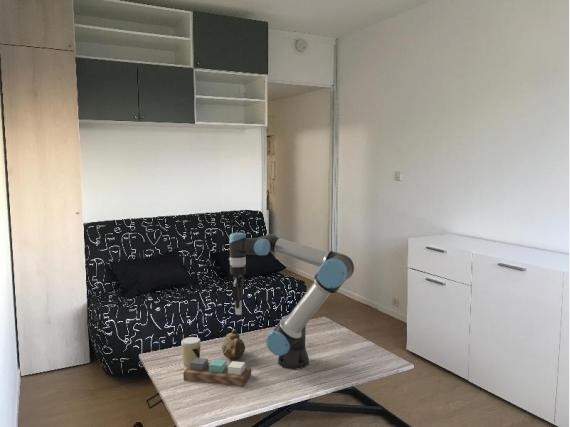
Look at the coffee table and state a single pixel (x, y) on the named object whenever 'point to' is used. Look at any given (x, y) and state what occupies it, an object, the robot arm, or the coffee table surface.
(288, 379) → the coffee table surface
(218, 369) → the teal key
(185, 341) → the coffee cup
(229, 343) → the carved stone sculpture
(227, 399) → the coffee table surface
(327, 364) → the coffee table surface
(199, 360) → the charcoal key
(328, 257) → the robot arm
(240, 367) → the white key
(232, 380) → the frame
